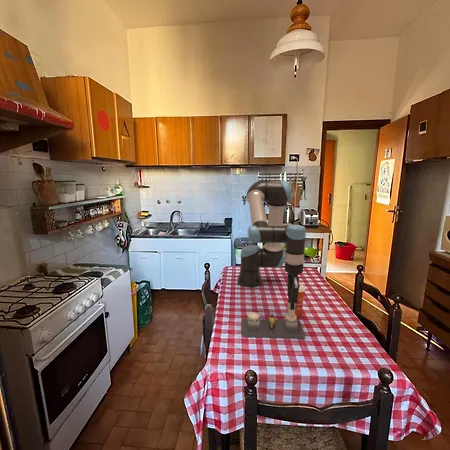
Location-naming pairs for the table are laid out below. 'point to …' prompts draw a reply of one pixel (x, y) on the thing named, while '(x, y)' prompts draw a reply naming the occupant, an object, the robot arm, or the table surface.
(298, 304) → the coffee cup
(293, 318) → the knob
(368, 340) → the table surface
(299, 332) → the panel
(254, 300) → the table surface
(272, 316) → the potentiometer
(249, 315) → the knob
